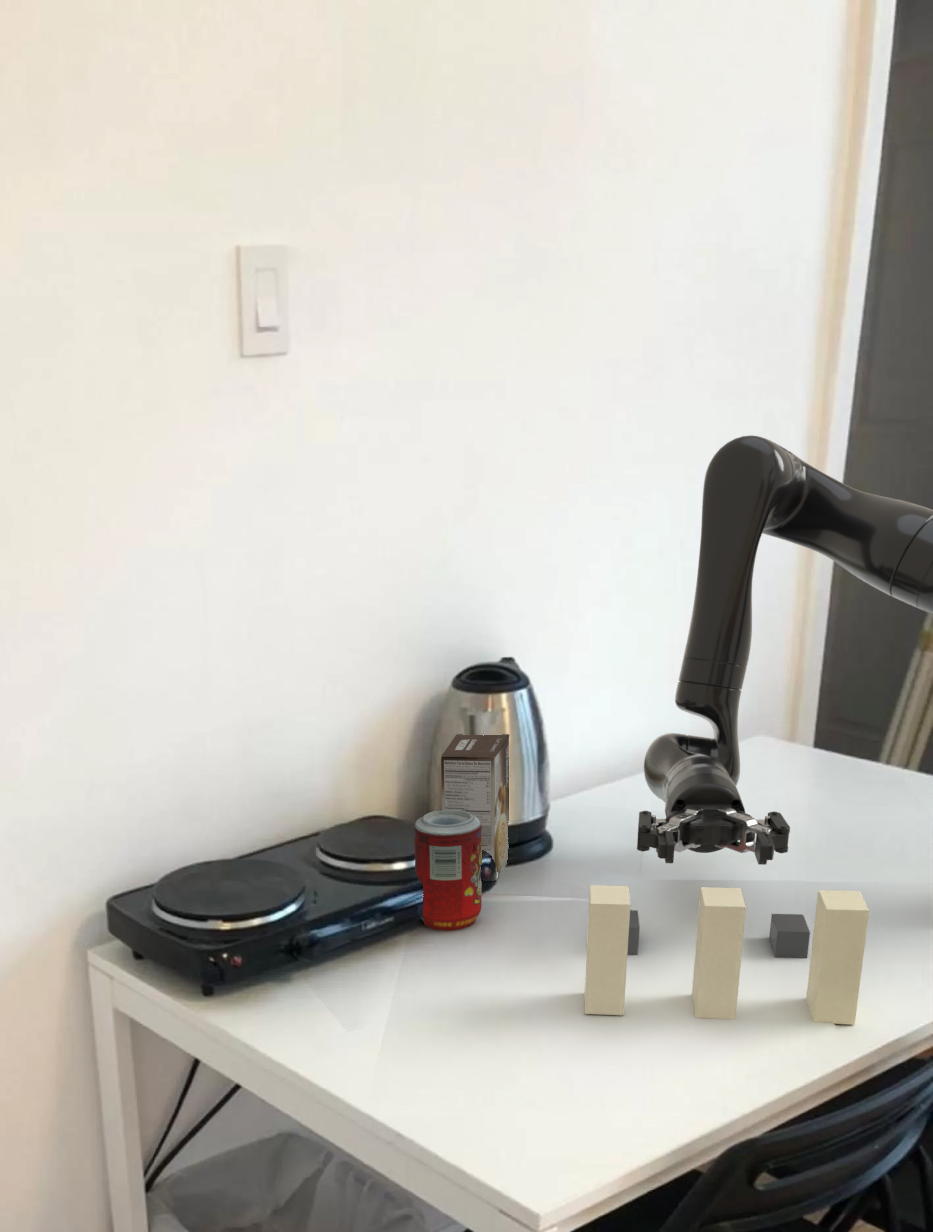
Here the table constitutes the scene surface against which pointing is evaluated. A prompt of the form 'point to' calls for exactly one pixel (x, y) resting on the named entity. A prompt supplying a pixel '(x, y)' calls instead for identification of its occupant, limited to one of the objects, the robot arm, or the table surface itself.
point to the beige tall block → (837, 956)
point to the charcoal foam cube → (789, 936)
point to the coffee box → (480, 787)
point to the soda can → (449, 868)
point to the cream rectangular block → (607, 949)
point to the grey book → (633, 933)
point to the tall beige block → (718, 952)
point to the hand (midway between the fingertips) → (716, 854)
